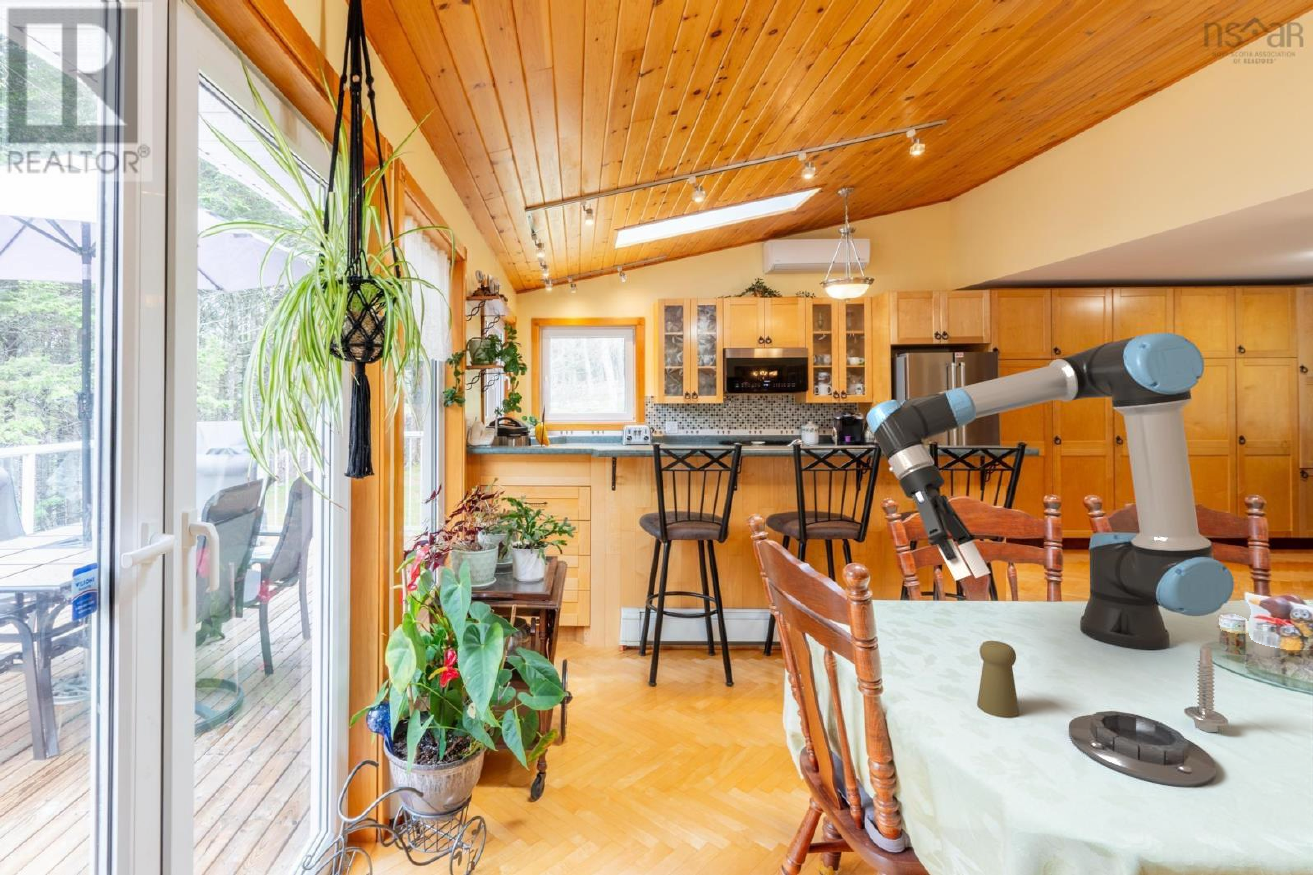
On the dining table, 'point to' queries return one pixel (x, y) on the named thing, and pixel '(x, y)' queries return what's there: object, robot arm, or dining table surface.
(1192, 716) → the screw
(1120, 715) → the flange
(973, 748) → the dining table surface
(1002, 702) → the cork
